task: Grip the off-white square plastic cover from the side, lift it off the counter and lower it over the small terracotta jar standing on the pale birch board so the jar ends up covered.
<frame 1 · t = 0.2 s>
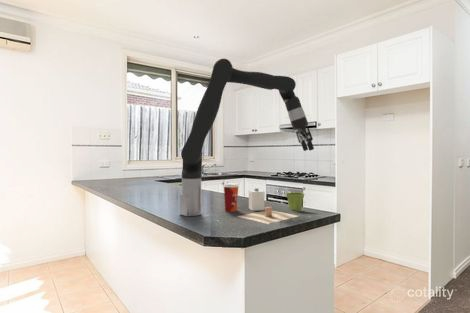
hand: (308, 150, 137), 31 cm above the countertop, tool tilted 20°, fingers open, 8 cm apart
paper cup: (231, 212, 141), on the countertop
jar: (268, 216, 128), point 1 cm above the countertop, touching board
board: (268, 217, 128), on the countertop
plant pot: (295, 211, 145), on the countertop
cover: (256, 210, 145), on the countertop
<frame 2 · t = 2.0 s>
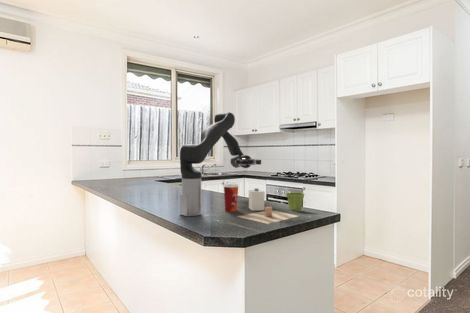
hand: (251, 162, 155), 24 cm above the countertop, tool horizontal, fingers open, 8 cm apart
nothing on the countertop moved.
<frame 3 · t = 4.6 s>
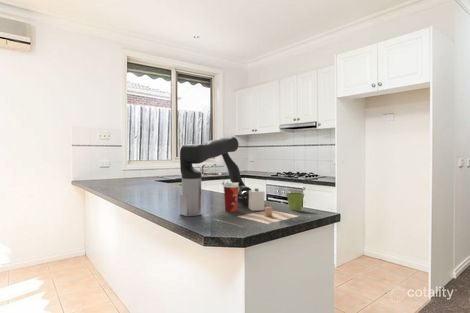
hand: (251, 196, 153), 6 cm above the countertop, tool horizontal, fingers open, 8 cm apart
nothing on the countertop moved.
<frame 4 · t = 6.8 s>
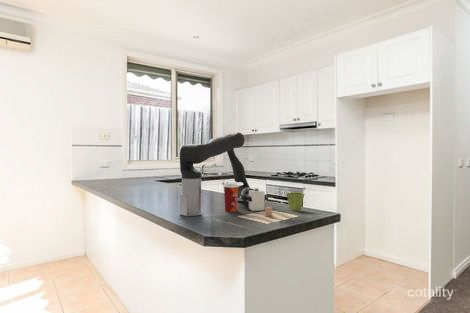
hand: (257, 199, 143), 6 cm above the countertop, tool horizontal, fingers closed on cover, 6 cm apart
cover: (256, 210, 145), on the countertop, touching gripper
everything else where it was.
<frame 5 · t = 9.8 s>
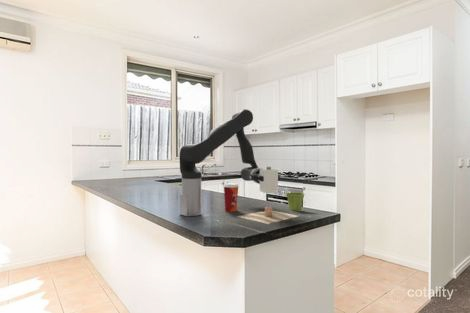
hand: (270, 178, 126), 18 cm above the countertop, tool horizontal, fingers closed on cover, 6 cm apart
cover: (268, 191, 128), point 12 cm above the countertop, touching gripper
everything else where it was.
when the fingers open (8 cm above the countertop, at t = 12.6 s): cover drops 1 cm, resting on board.
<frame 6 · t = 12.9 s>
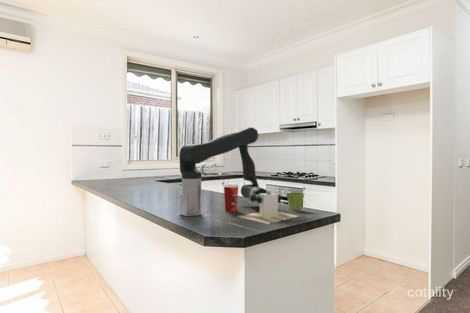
hand: (270, 200, 127), 8 cm above the countertop, tool horizontal, fingers open, 8 cm apart
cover: (268, 216, 129), point 1 cm above the countertop, touching board
everything else where it was.
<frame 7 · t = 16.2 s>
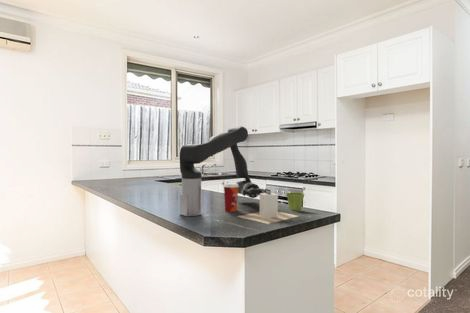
hand: (259, 193, 139), 9 cm above the countertop, tool horizontal, fingers open, 8 cm apart
nothing on the countertop moved.
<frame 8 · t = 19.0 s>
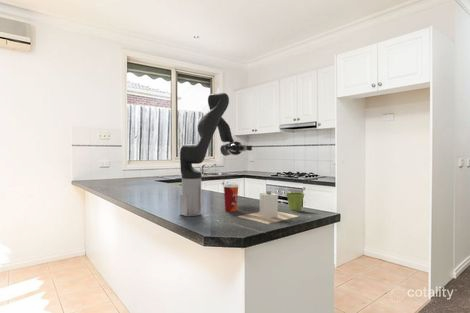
hand: (241, 147, 146), 32 cm above the countertop, tool horizontal, fingers open, 8 cm apart
nothing on the countertop moved.
at the end: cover 0.1 cm from the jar (horizontally); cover point 0.8 cm above the countertop; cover tilted 0° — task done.
